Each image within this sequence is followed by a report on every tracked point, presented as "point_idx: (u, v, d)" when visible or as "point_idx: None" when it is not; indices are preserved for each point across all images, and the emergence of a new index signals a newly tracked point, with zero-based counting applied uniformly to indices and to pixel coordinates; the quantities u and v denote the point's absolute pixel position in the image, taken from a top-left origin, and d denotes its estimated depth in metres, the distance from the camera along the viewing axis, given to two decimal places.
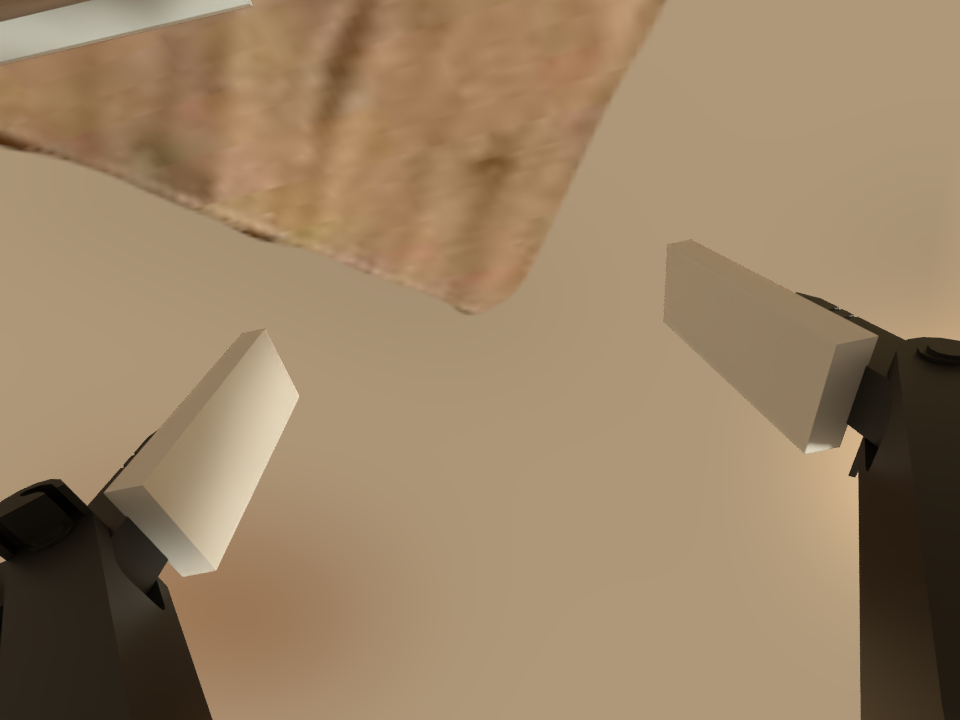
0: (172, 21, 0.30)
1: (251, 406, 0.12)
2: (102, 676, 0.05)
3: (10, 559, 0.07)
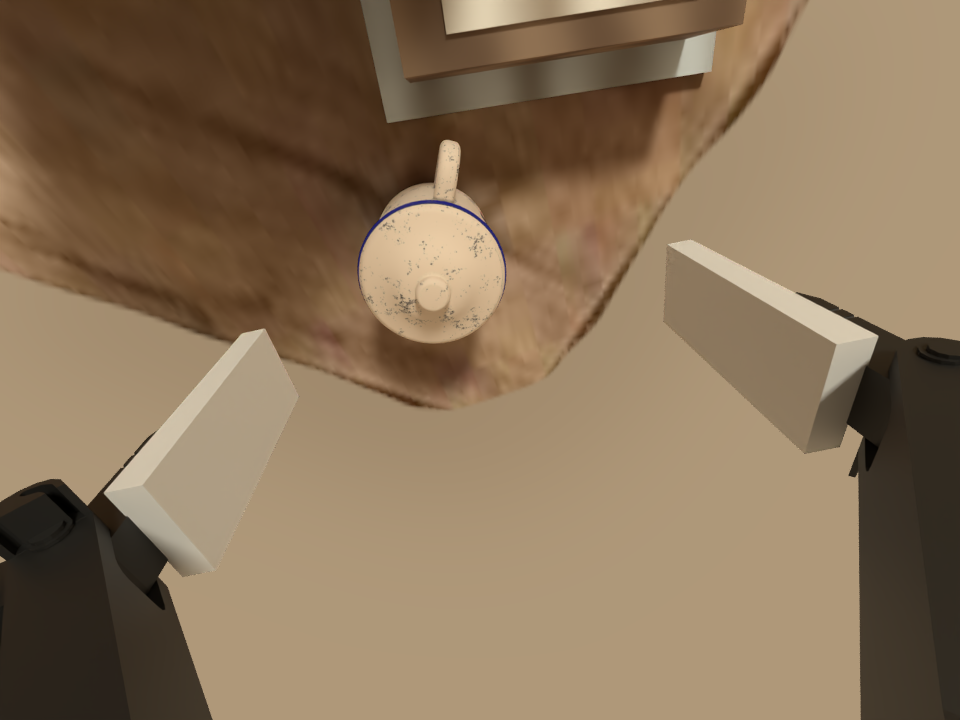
0: None
1: (251, 406, 0.12)
2: (102, 675, 0.05)
3: (10, 559, 0.07)
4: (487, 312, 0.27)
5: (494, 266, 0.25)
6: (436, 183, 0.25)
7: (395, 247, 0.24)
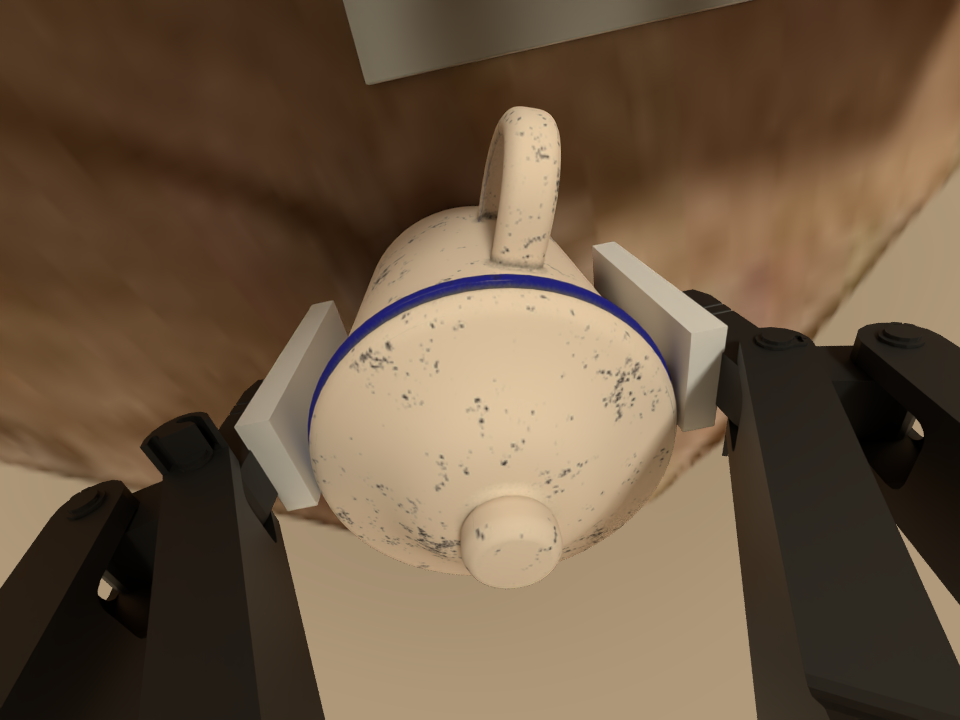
0: None
1: None
2: (230, 595, 0.06)
3: (165, 475, 0.08)
4: (626, 517, 0.11)
5: (659, 429, 0.10)
6: (500, 223, 0.09)
7: (399, 415, 0.08)
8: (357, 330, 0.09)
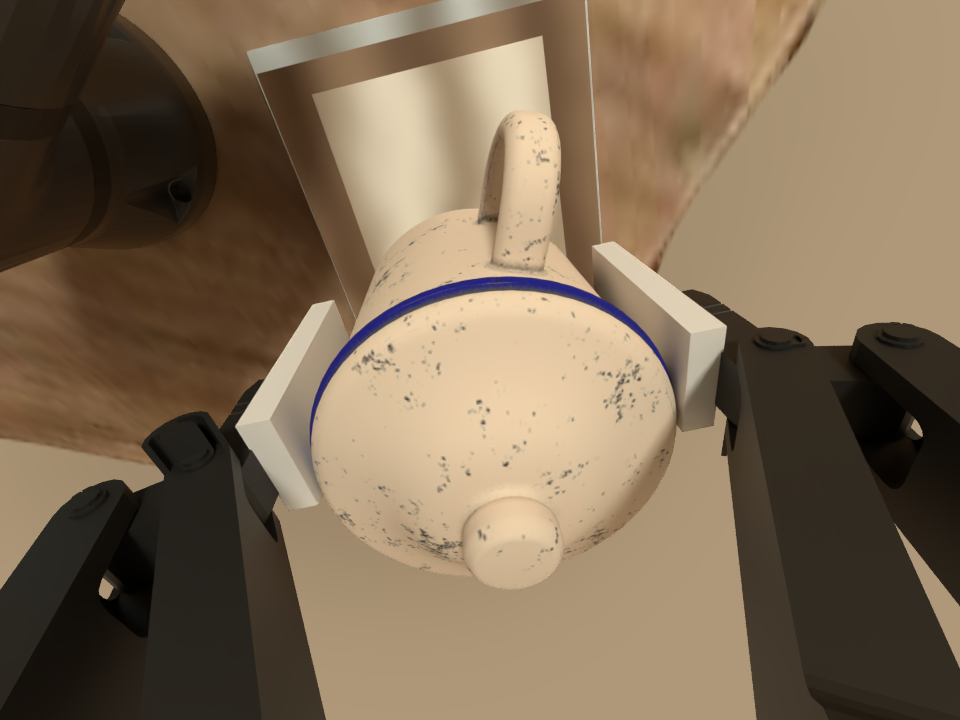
0: (590, 70, 0.29)
1: None
2: (231, 595, 0.06)
3: (166, 474, 0.08)
4: (626, 517, 0.11)
5: (659, 430, 0.10)
6: (501, 226, 0.09)
7: (401, 417, 0.08)
8: (359, 332, 0.09)
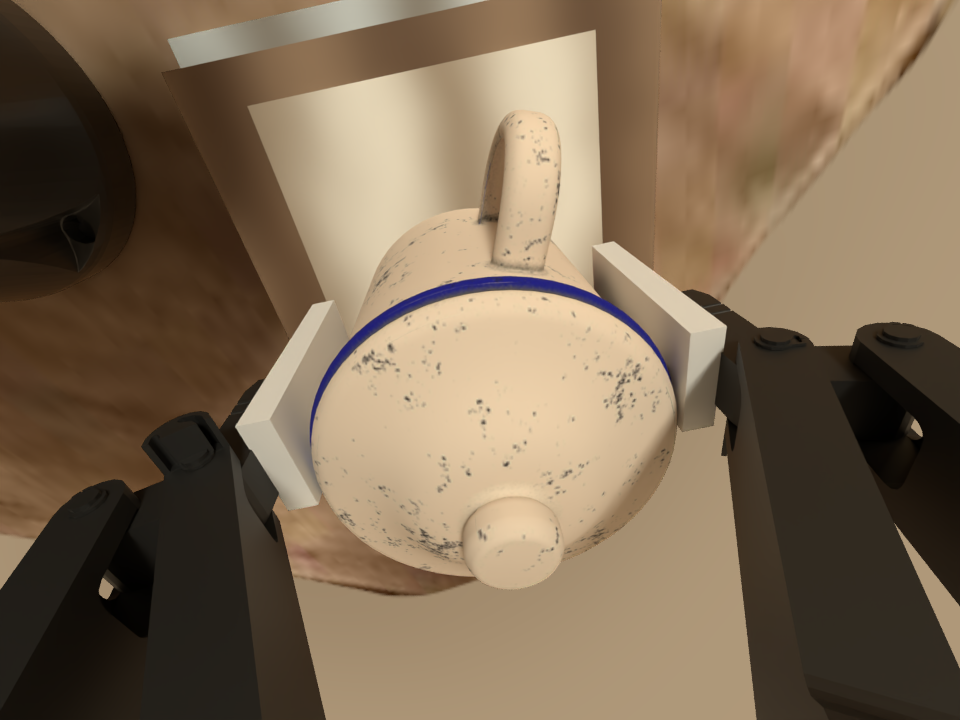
0: None
1: None
2: (231, 595, 0.06)
3: (166, 474, 0.08)
4: (627, 517, 0.11)
5: (659, 430, 0.10)
6: (501, 225, 0.09)
7: (401, 417, 0.08)
8: (359, 332, 0.09)
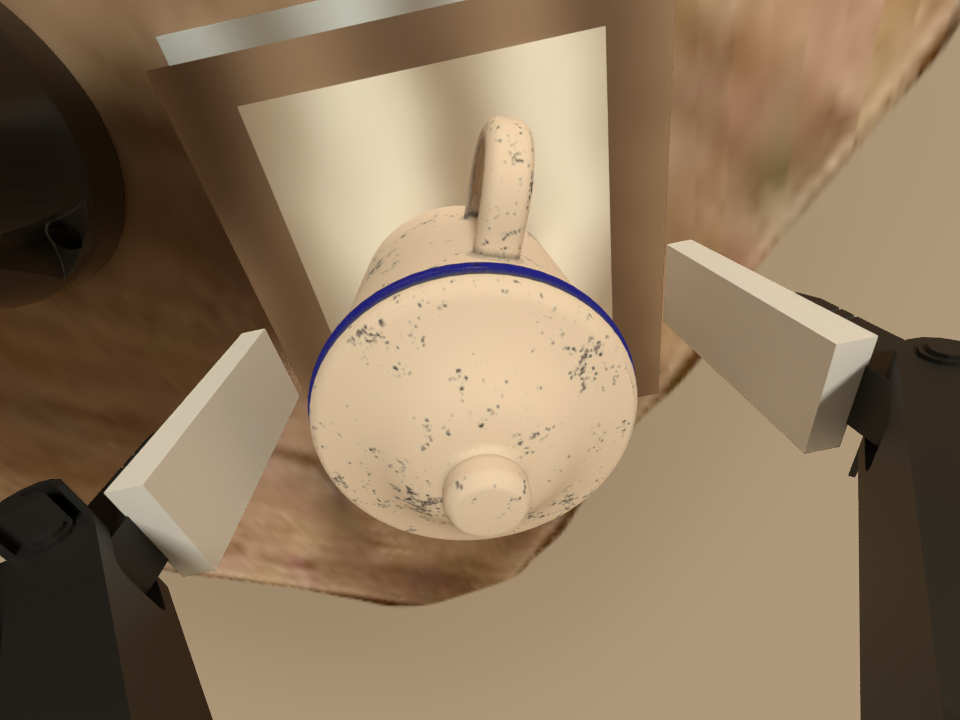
0: None
1: (251, 406, 0.12)
2: (102, 675, 0.05)
3: (10, 559, 0.07)
4: (594, 485, 0.12)
5: (620, 402, 0.11)
6: (481, 218, 0.10)
7: (389, 384, 0.10)
8: (354, 310, 0.10)
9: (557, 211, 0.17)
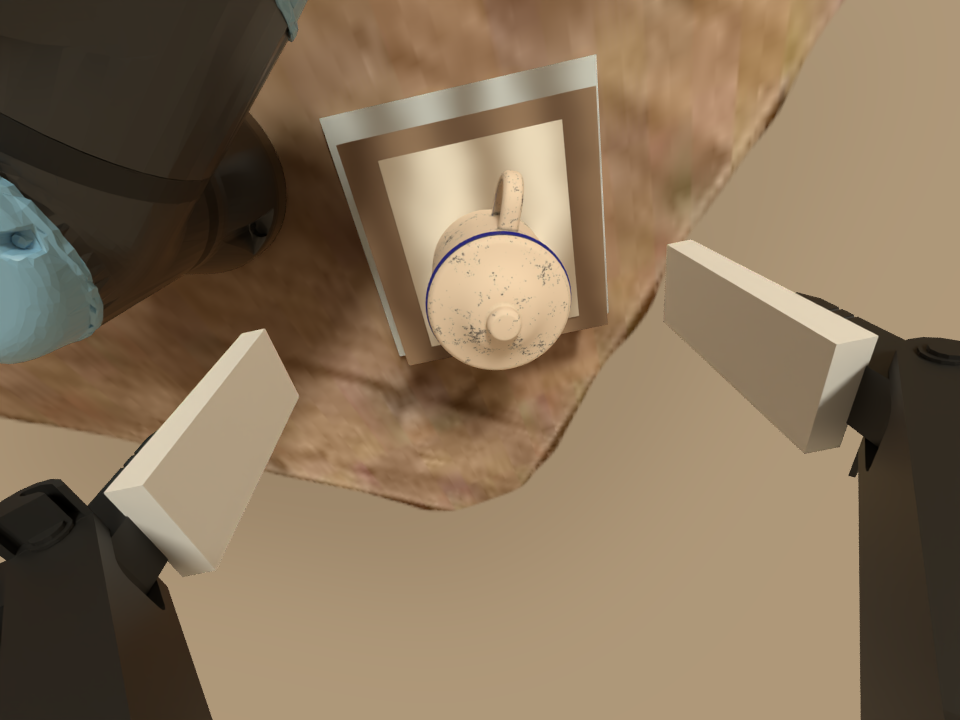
0: (599, 135, 0.35)
1: (251, 406, 0.12)
2: (102, 675, 0.05)
3: (10, 559, 0.07)
4: (553, 337, 0.27)
5: (561, 292, 0.25)
6: (501, 214, 0.25)
7: (465, 279, 0.24)
8: (450, 251, 0.24)
9: (540, 212, 0.32)
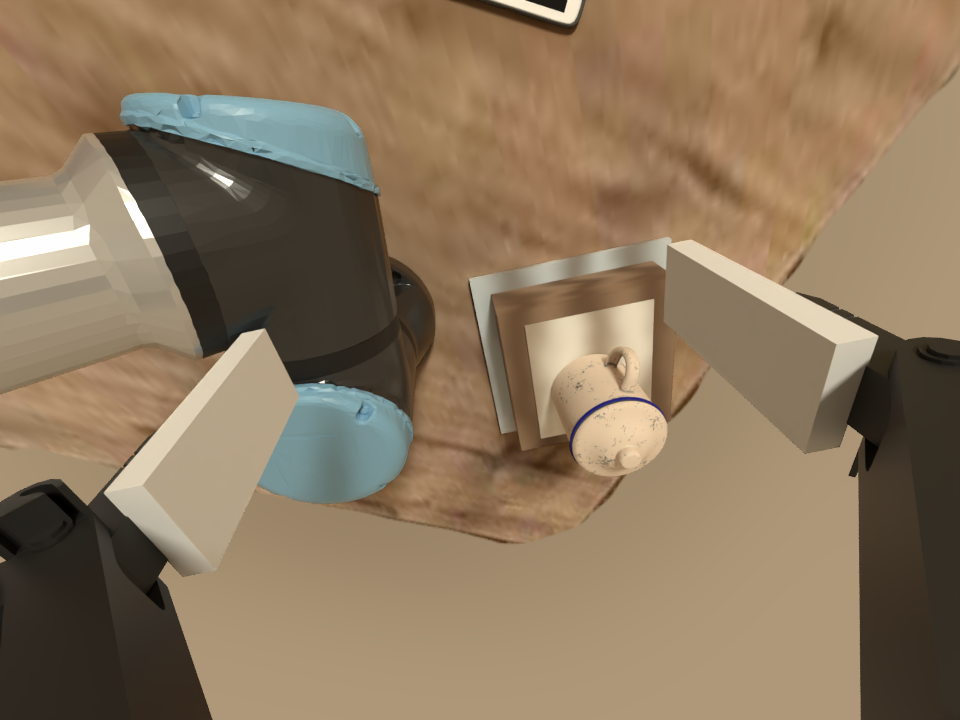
0: None
1: (251, 406, 0.12)
2: (102, 675, 0.05)
3: (10, 559, 0.07)
4: (653, 457, 0.40)
5: (662, 432, 0.38)
6: (624, 382, 0.38)
7: (604, 429, 0.37)
8: (593, 409, 0.37)
9: None
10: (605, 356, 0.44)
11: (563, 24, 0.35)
